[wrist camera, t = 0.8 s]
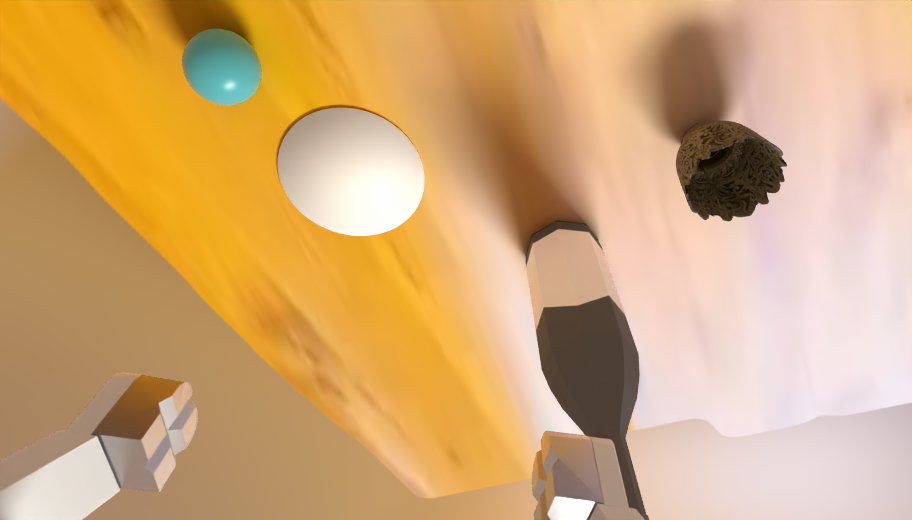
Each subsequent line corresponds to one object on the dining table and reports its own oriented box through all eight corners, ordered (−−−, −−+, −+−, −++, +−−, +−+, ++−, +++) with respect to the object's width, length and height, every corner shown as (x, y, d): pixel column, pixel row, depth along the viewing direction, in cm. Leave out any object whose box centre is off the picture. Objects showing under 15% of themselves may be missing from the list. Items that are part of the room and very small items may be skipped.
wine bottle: (531, 283, 58) (577, 579, 35) (517, 228, 53) (561, 531, 30) (603, 269, 56) (701, 569, 33) (596, 211, 51) (705, 516, 28)
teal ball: (187, 23, 40) (155, 45, 36) (256, 16, 40) (231, 37, 35) (216, 92, 44) (189, 120, 39) (279, 86, 43) (259, 113, 39)
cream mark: (256, 114, 45) (256, 115, 45) (412, 100, 44) (412, 101, 44) (302, 239, 54) (302, 240, 54) (433, 229, 53) (432, 230, 53)
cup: (759, 103, 44) (807, 147, 38) (721, 177, 49) (758, 226, 42) (676, 93, 43) (711, 136, 37) (646, 169, 48) (673, 217, 42)
